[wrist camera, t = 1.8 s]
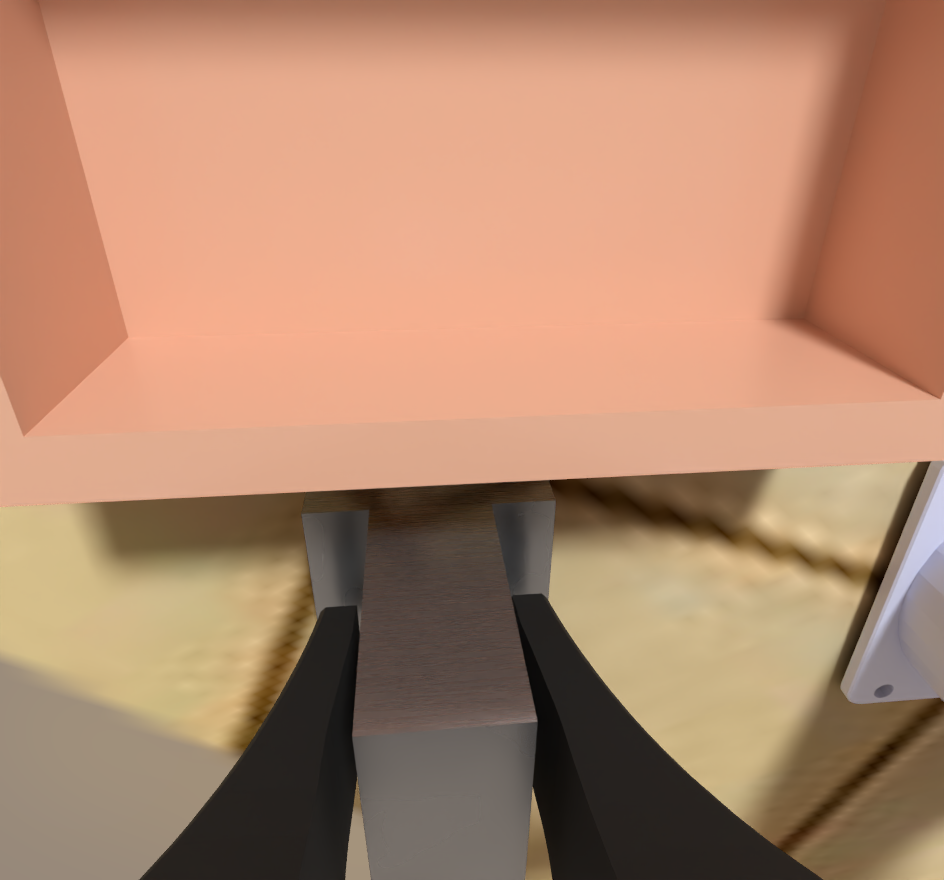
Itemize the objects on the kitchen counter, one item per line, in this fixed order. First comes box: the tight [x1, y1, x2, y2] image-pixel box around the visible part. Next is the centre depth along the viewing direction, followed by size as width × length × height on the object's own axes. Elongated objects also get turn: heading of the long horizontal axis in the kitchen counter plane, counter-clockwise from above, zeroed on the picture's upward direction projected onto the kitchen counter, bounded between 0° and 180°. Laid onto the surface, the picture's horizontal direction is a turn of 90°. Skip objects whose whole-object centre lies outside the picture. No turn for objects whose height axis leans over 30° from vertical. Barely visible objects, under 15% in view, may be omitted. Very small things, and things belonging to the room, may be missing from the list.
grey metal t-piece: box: [301, 480, 556, 880], centre depth 12 cm, size 5×5×6 cm
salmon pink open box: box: [0, 0, 944, 507], centre depth 8 cm, size 14×10×4 cm
